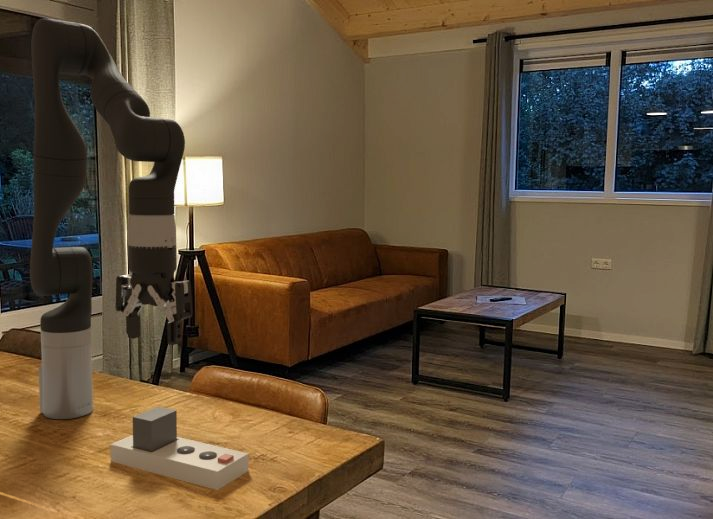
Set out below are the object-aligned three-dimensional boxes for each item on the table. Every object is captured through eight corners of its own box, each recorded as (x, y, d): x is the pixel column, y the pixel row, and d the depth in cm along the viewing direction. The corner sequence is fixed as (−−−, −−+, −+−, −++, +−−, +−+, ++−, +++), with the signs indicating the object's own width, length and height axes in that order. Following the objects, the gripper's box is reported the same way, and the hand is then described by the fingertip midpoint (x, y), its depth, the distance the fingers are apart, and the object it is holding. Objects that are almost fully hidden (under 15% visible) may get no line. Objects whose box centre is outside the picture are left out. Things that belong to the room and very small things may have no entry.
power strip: (107, 460, 116) (106, 439, 115) (141, 444, 123) (141, 425, 122) (217, 490, 105) (217, 467, 105) (248, 471, 113) (248, 449, 112)
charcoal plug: (133, 463, 114) (132, 416, 113) (158, 451, 120) (158, 406, 119) (151, 468, 113) (151, 421, 112) (176, 455, 118) (176, 410, 117)
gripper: (102, 241, 112) (104, 340, 114) (170, 247, 105) (171, 351, 107) (136, 238, 118) (137, 331, 120) (202, 243, 112) (203, 341, 114)
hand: (153, 340), depth 114 cm, fingers open, 8 cm apart
